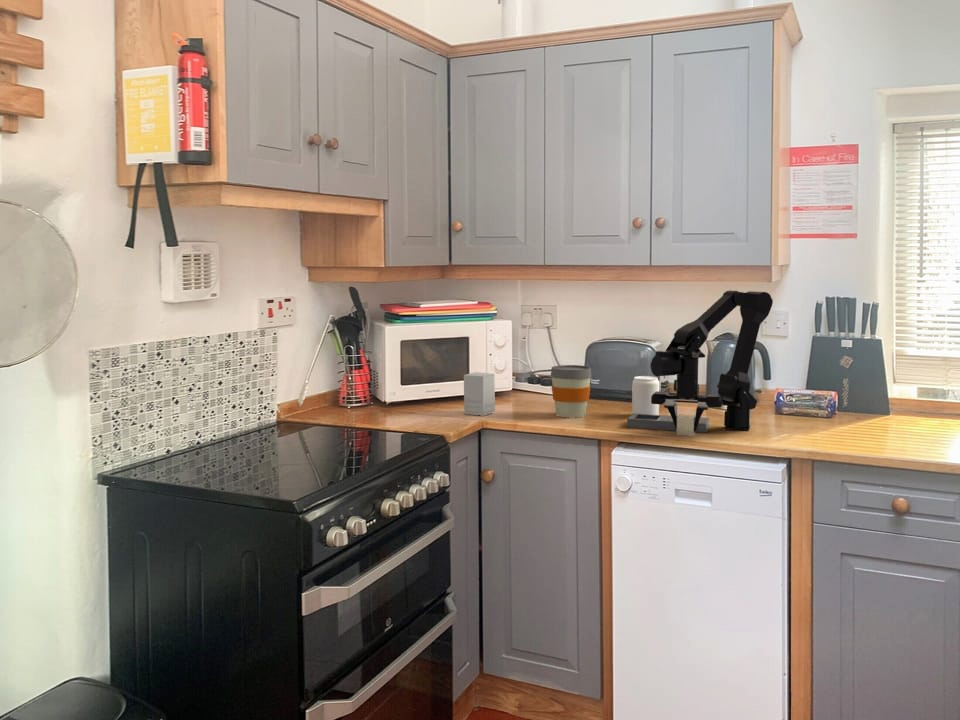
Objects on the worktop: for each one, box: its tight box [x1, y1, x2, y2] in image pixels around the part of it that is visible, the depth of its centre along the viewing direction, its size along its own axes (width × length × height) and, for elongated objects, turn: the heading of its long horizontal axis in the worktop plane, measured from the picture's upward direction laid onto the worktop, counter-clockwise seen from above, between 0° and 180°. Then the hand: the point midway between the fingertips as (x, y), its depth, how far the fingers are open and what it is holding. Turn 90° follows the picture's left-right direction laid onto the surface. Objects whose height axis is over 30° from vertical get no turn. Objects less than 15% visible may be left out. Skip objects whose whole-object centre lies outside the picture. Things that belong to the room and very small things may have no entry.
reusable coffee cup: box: [550, 364, 593, 418], centre depth 261 cm, size 13×13×15 cm
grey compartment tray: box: [626, 413, 710, 433], centre depth 243 cm, size 22×9×2 cm, turn 69°
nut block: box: [676, 413, 696, 437], centre depth 233 cm, size 4×4×5 cm
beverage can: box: [631, 375, 660, 415], centre depth 259 cm, size 8×8×12 cm
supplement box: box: [463, 372, 496, 417], centre depth 265 cm, size 7×7×13 cm
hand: (686, 430), depth 233 cm, fingers closed on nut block, 4 cm apart
